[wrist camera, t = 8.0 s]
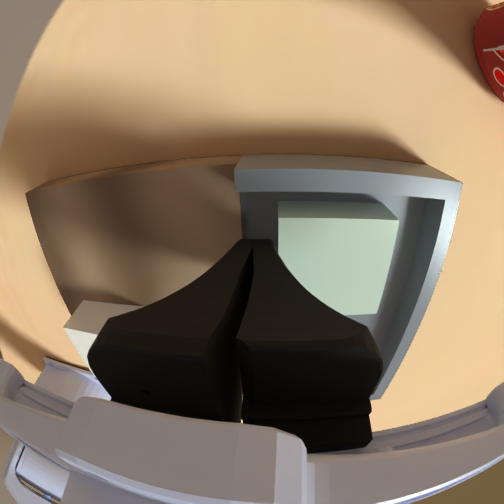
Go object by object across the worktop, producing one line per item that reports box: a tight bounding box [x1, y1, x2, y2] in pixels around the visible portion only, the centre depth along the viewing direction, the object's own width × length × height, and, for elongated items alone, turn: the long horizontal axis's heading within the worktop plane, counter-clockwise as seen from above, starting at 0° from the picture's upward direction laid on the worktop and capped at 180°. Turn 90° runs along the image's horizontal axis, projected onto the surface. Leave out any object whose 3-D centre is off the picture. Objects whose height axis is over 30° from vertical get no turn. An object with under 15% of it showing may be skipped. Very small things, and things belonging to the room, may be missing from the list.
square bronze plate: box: [25, 155, 244, 316], centre depth 15 cm, size 12×15×2 cm
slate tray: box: [234, 154, 463, 400], centre depth 13 cm, size 9×15×3 cm, turn 3°
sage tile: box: [278, 201, 399, 315], centre depth 11 cm, size 4×4×2 cm
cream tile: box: [63, 300, 144, 377], centre depth 14 cm, size 4×4×2 cm
